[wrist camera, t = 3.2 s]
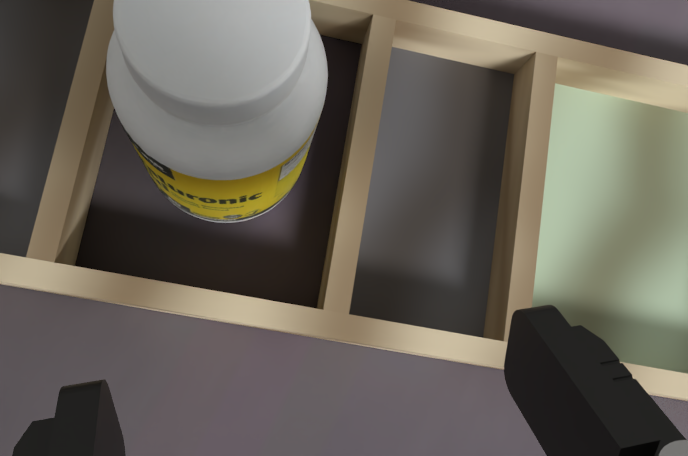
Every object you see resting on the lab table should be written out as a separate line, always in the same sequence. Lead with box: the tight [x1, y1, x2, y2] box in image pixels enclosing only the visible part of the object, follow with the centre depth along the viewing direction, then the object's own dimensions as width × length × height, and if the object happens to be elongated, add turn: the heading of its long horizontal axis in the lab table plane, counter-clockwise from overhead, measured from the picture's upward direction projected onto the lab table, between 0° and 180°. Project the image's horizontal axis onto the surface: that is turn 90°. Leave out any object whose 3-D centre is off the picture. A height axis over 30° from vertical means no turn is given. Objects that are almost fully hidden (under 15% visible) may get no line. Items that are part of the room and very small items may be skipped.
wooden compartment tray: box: [0, 0, 688, 401], centre depth 22 cm, size 30×12×2 cm, turn 80°
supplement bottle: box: [106, 0, 328, 223], centre depth 18 cm, size 5×5×10 cm
